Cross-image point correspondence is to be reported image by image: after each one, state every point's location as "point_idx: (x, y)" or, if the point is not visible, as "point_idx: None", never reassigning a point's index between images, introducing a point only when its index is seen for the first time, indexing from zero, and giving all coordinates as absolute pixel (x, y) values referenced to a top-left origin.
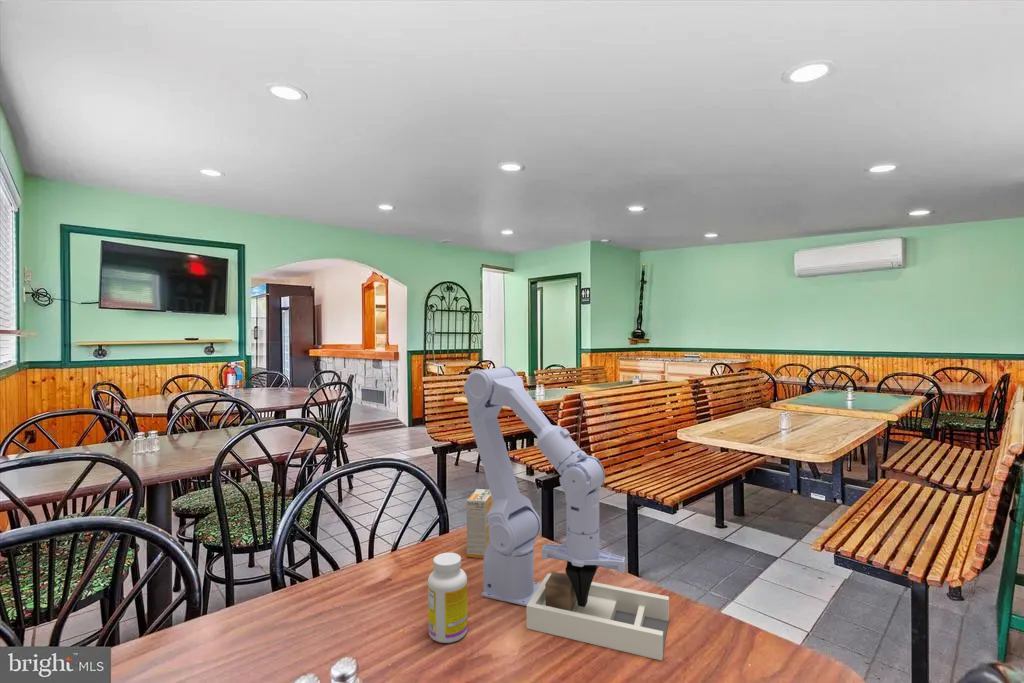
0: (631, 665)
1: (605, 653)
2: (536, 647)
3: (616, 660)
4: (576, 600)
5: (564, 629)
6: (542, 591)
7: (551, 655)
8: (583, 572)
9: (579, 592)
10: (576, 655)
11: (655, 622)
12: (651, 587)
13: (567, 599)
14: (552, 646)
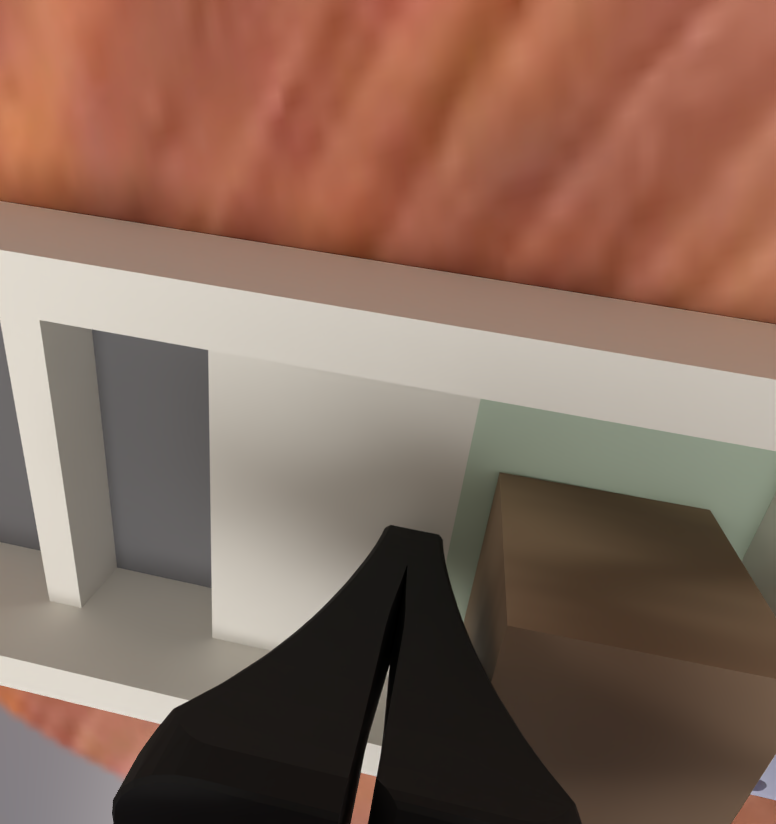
0: (42, 78)
1: (227, 169)
2: (771, 98)
3: (143, 107)
4: (465, 616)
5: (537, 299)
6: None
7: (632, 18)
8: (270, 798)
9: (410, 601)
10: (424, 82)
11: (25, 518)
12: (121, 767)
13: (529, 544)
14: (625, 150)
